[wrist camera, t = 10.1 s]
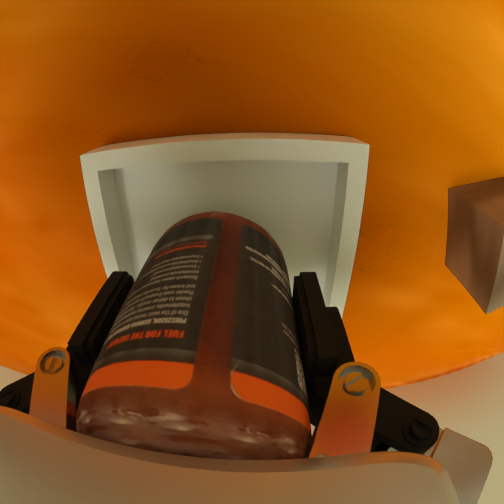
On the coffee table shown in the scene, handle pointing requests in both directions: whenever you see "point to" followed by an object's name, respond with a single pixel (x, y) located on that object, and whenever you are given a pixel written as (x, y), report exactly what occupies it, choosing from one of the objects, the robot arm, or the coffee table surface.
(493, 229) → the walnut block
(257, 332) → the supplement bottle
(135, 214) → the tray
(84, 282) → the coffee table surface
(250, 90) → the coffee table surface
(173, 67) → the coffee table surface
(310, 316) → the robot arm
